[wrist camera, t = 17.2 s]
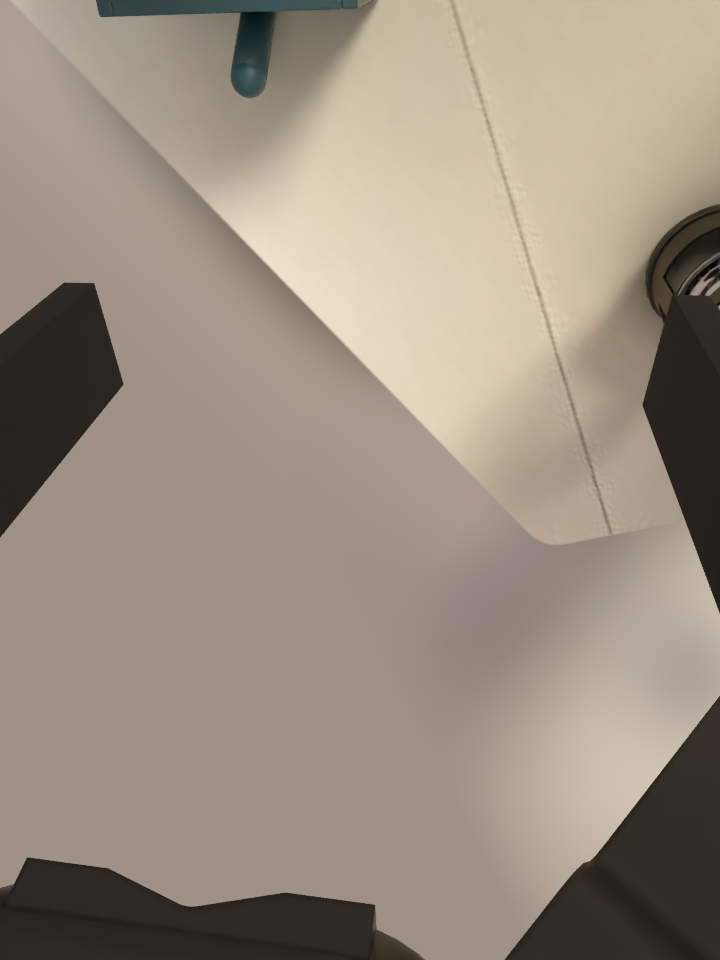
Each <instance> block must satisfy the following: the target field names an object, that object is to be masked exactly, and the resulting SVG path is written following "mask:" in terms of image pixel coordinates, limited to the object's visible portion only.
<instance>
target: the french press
mask: <svg viewBox="0 0 720 960" xmlns="http://www.w3.org/2000/svg"><path fill="white" fill-rule="evenodd" d="M719 229H720V205H716V206H712V207H709V208H706V209H703V210H700V211H698V212H697V213H695V214H693V215H691V216H689V217H687V218H686V219H684V220H683V221H681V222H680V223H679V224H677V225H676V226H675V227H674V228H673V229H672V230H671V231H670V232H669V233H668V234H667V235H666V236H665V237H664V238H663V239H662V241H661V242H660V243H659V245H658V246H657V248H656V249H655V251H654V253H653V255H652V257H651V259H650V262H649V266H648V269H647V274H646V289H647V296H648V298H649V301H650V303H651V305H652V307H653V309H654V310H655V311H656V313H657V314H658V315H659V316H660V317H661V318H662V320H663V322H664V323H665V319H666V316H667V312H668V308H669V304H670V301H671V297H672V295H675V294H674V292H673V290H672V288H671V287H670V285H669V283H668V282H667V280H666V276H667V274H668V272H669V270H670V268H671V266H672V265H673V263H674V262H675V261H676V260H677V258H678V257H679V256H680V255H681V254H682V253H683V252H684V251H685V250H686V249H687V248H688V247H689V246H690V245H691V244H693V243H694V242H696V241H697V240H699V239H700V238H701V237H703V236H705V235H707V234H709V233H711V232H713V231H715V230H719ZM677 295H701V296H710V297H711V298H712V300H713V301H714V302H715V304H716V305H717V307H718V308H719V310H720V251H719V252H717V253H715V254H713V255H712V256H710V257H709V258H708V259H706V260H705V261H703V262H702V263H701V264H700V265H699V266H698V267H696V268H695V269H694V270H693V271H692V272H691V273H690V275H689V276H688V277H687V278H686V279H685V281H684V282H683V284H682V285H681V287H680V288H679V290H678V292H677Z"/></svg>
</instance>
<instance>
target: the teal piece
mask: <svg viewBox="0 0 720 960" xmlns="http://www.w3.org/2000/svg"><path fill="white" fill-rule="evenodd" d="M275 18H276V11H270V12H241V14H240V20H239V26H238V32H237V39H236V45H235V51H234V57H233V63H232V69H231V82H232V85H233V87H234V89H235V90H236V91H237V92H238V93H239V94H240V95H241V96H243V97H246V98H254V97H256V96H258V95H259V94H261V93H262V91H263V90H264V88H265V85H266V79H267V72H268V65H269V59H270V52H271V45H272V38H273V31H274V25H275Z"/></svg>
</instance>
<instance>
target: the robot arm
mask: <svg viewBox="0 0 720 960" xmlns="http://www.w3.org/2000/svg"><path fill="white" fill-rule="evenodd" d="M122 385H123V381H122V378H121V374H120V371H119V367H118V364H117V360H116V357H115V353H114V350H113V347H112V343H111V340H110V336H109V333H108V329H107V326H106V322H105V319H104V316H103V313H102V309H101V305H100V302H99V298H98V295H97V291H96V288H95V285H94V283H63V284H62V285H61V286H59V287H58V288H57V289H56V290H55V291H53V292H52V293H51V294H50V295H48V296H47V297H46V298H45V299H43V300H42V301H41V302H40V303H38V304H37V305H36V306H35V307H34V308H32V309H31V310H30V311H29V312H27V313H26V314H25V315H24V316H23V317H21V318H20V319H19V320H18V321H16V322H15V323H14V324H13V325H11V326H10V327H9V328H8V329H6V330H5V331H4V332H3V333H2V334H0V537H1V536H2V534H3V533H4V532H5V531H6V529H7V528H8V527H9V526H10V524H11V523H12V522H13V521H14V520H15V518H16V517H17V516H18V515H19V513H20V512H21V511H22V510H23V508H24V507H25V506H26V505H27V503H28V502H29V501H30V500H31V498H32V497H33V496H34V495H35V493H36V492H37V491H38V490H39V489H40V487H41V486H42V485H43V484H44V482H45V481H46V480H47V479H48V477H49V476H50V475H51V474H52V472H53V471H54V470H55V469H56V467H57V466H58V465H59V464H60V463H61V461H62V460H63V459H64V458H65V456H66V455H67V454H68V453H69V451H70V450H71V449H72V448H73V446H74V445H75V444H76V443H77V441H78V440H79V439H80V438H81V436H82V435H83V434H84V433H85V431H86V430H87V429H88V428H89V426H90V425H91V424H92V423H93V422H94V420H95V419H96V418H97V417H98V415H99V414H100V413H101V412H102V410H103V409H104V408H105V407H106V405H107V404H108V403H109V402H110V401H111V399H112V398H113V397H114V395H115V394H116V393H117V392H118V391H119V389H120V388H121V387H122ZM643 408H644V411H645V413H646V416H647V419H648V421H649V424H650V427H651V429H652V432H653V435H654V438H655V440H656V443H657V446H658V448H659V451H660V454H661V456H662V459H663V462H664V464H665V467H666V470H667V473H668V475H669V478H670V481H671V483H672V486H673V489H674V491H675V494H676V497H677V499H678V502H679V505H680V508H681V510H682V513H683V516H684V518H685V521H686V524H687V526H688V528H689V532H690V534H691V537H692V540H693V542H694V545H695V548H696V551H697V553H698V556H699V559H700V561H701V564H702V567H703V569H704V572H705V575H706V577H707V580H708V583H709V586H710V588H711V591H712V594H713V596H714V599H715V602H716V604H717V607H718V610H719V612H720V310H719V308H718V307H717V305H716V304H715V302H714V301H713V300H712V298H711V297H710V296H701V295H672V297H671V301H670V304H669V308H668V312H667V316H666V319H665V323H664V327H663V330H662V334H661V338H660V342H659V345H658V349H657V353H656V357H655V360H654V364H653V368H652V371H651V375H650V379H649V383H648V386H647V390H646V394H645V398H644V401H643ZM0 960H424V959H423V958H422V957H421V956H420V955H419V954H418V953H416V952H415V951H413V950H412V949H410V948H409V947H407V946H406V945H404V944H403V943H401V942H400V941H398V940H397V939H395V938H393V937H391V936H389V935H386V934H385V933H383V932H381V931H378V930H377V929H376V912H375V905H372V904H365V903H357V902H350V901H343V900H336V899H328V898H321V897H314V896H306V895H299V894H292V893H280V894H275V895H268V896H261V897H255V898H248V899H242V900H235V901H230V902H223V903H216V904H210V905H203V906H196V907H188V906H183V905H180V904H178V903H176V902H174V901H172V900H170V899H168V898H166V897H164V896H162V895H160V894H158V893H156V892H154V891H152V890H150V889H148V888H146V887H144V886H142V885H140V884H138V883H136V882H134V881H132V880H130V879H128V878H126V877H124V876H122V875H120V874H118V873H116V872H114V871H112V870H110V869H108V868H100V867H93V866H86V865H79V864H71V863H64V862H57V861H49V860H42V859H34V858H27V859H26V861H25V863H24V865H23V867H22V869H21V871H20V873H19V875H18V877H17V879H16V882H15V884H14V885H9V886H6V887H2V888H0ZM505 960H720V696H719V698H718V699H717V700H716V702H715V703H714V704H713V705H712V707H711V708H710V709H709V711H708V712H707V713H706V714H705V716H704V717H703V718H702V720H701V721H700V722H699V723H698V725H697V726H696V727H695V729H694V730H693V731H692V733H691V734H690V735H689V737H688V738H687V739H686V741H685V742H684V743H683V744H682V745H681V747H680V748H679V749H678V751H677V752H676V753H675V755H674V756H673V757H672V758H671V760H670V761H669V762H668V764H667V765H666V766H665V767H664V769H663V770H662V771H661V773H660V774H659V775H658V776H657V778H656V779H655V780H654V782H653V783H652V784H651V785H650V787H649V788H648V789H647V791H646V792H645V793H644V795H643V796H642V797H641V798H640V800H639V801H638V802H637V804H636V805H635V806H634V807H633V809H632V810H631V811H630V813H629V814H628V815H627V817H626V818H625V819H624V820H623V822H622V823H621V824H620V826H619V827H618V828H617V829H616V831H615V832H614V833H613V835H612V836H611V837H610V838H609V840H608V841H607V842H606V844H605V845H604V846H603V848H602V849H601V850H600V851H599V852H598V854H597V855H596V856H595V857H594V858H593V859H592V860H591V861H589V862H586V863H583V864H582V865H581V866H580V867H579V868H578V869H577V870H576V871H575V872H574V873H573V874H572V875H571V877H570V878H569V879H568V880H567V882H566V883H565V884H564V885H563V886H562V887H561V889H560V890H559V891H558V892H557V894H556V895H555V896H554V898H553V899H552V900H551V901H550V903H549V904H548V905H547V906H546V908H545V909H544V910H543V912H542V913H541V914H540V915H539V917H538V918H537V919H536V920H535V922H534V923H533V924H532V926H531V927H530V928H529V929H528V931H527V932H526V933H525V934H524V936H523V937H522V939H521V940H520V941H519V942H518V943H517V945H516V946H515V947H514V948H513V950H512V951H511V952H510V954H509V955H508V956H507V958H506V959H505Z"/></svg>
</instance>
